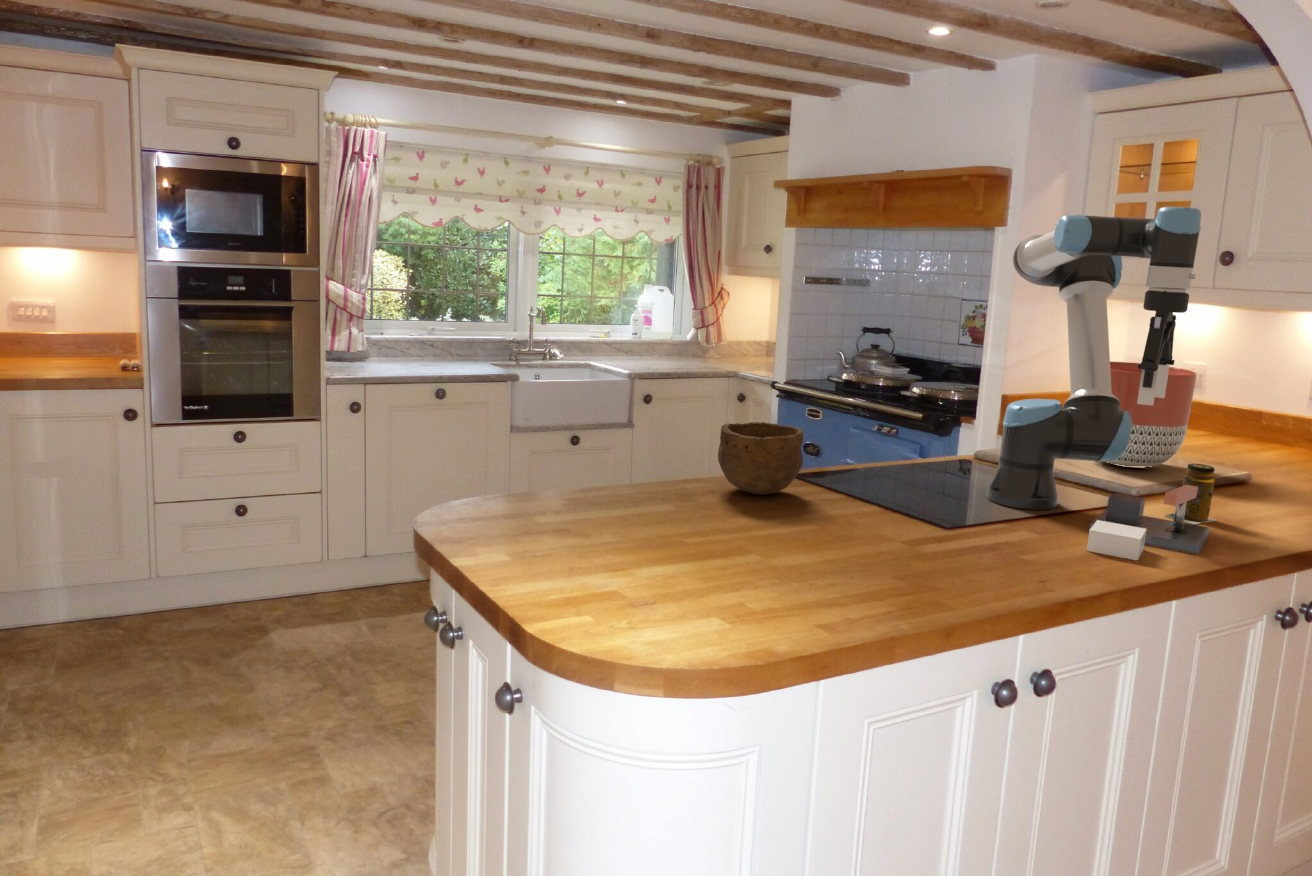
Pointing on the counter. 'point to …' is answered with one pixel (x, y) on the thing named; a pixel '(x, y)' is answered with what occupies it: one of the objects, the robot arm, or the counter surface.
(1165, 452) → the planter
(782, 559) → the counter surface
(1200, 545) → the latch plate
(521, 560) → the counter surface
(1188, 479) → the condiment
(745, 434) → the bowl
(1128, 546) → the cover
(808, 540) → the counter surface
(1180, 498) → the t key
